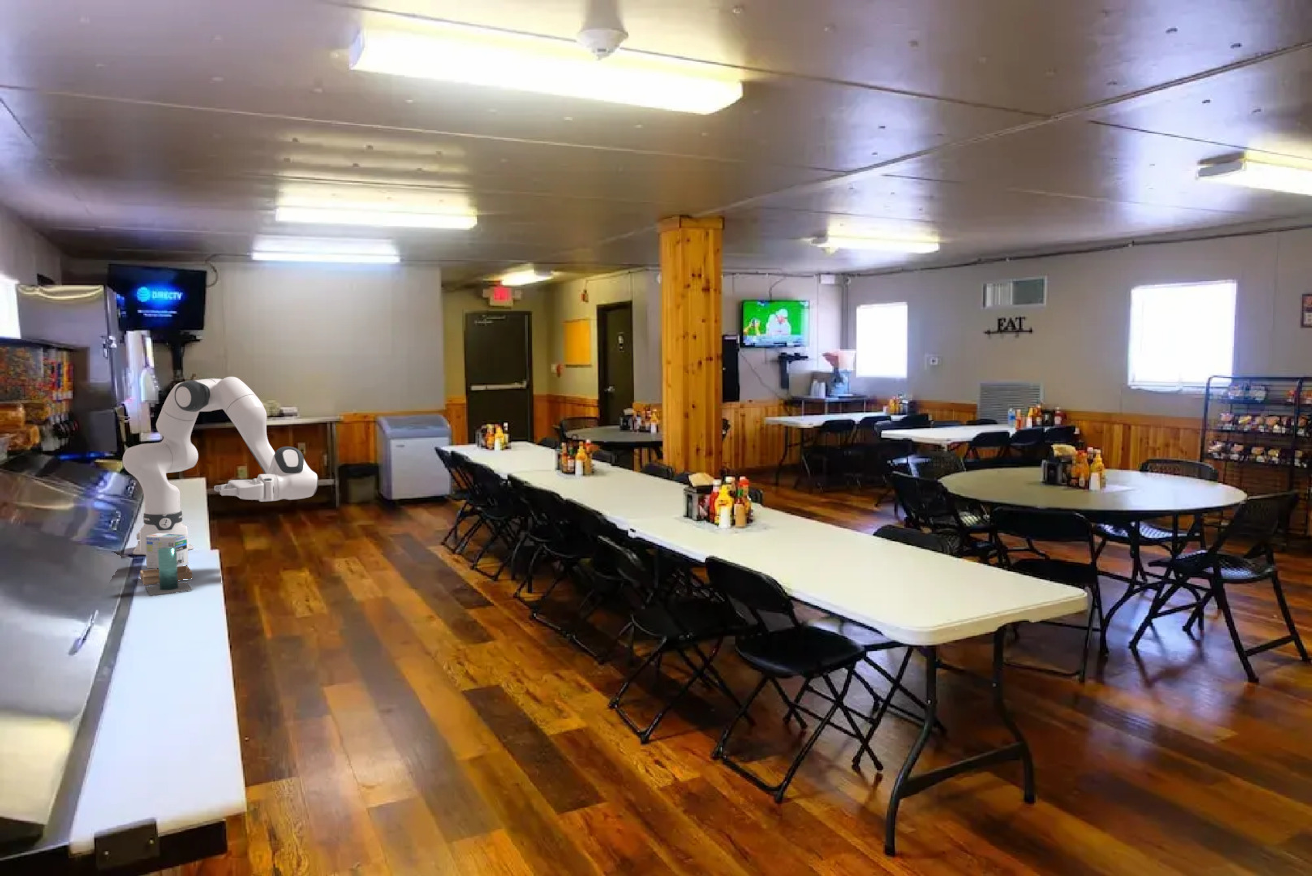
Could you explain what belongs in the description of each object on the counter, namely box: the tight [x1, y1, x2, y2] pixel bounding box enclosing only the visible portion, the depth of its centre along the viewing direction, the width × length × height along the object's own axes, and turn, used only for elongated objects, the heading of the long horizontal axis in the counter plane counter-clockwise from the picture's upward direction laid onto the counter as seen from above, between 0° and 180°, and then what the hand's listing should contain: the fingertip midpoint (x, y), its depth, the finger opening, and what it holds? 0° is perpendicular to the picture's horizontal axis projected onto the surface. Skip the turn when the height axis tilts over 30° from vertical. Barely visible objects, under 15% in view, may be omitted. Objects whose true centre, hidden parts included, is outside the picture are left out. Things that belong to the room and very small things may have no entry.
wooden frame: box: [139, 565, 193, 586], centre depth 268 cm, size 10×13×2 cm
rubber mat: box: [144, 582, 193, 597], centre depth 256 cm, size 11×11×1 cm
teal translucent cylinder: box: [158, 547, 179, 590], centre depth 256 cm, size 5×5×12 cm
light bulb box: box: [145, 533, 189, 569], centre depth 284 cm, size 11×7×11 cm, turn 84°
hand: (217, 490), depth 268 cm, fingers open, 8 cm apart
